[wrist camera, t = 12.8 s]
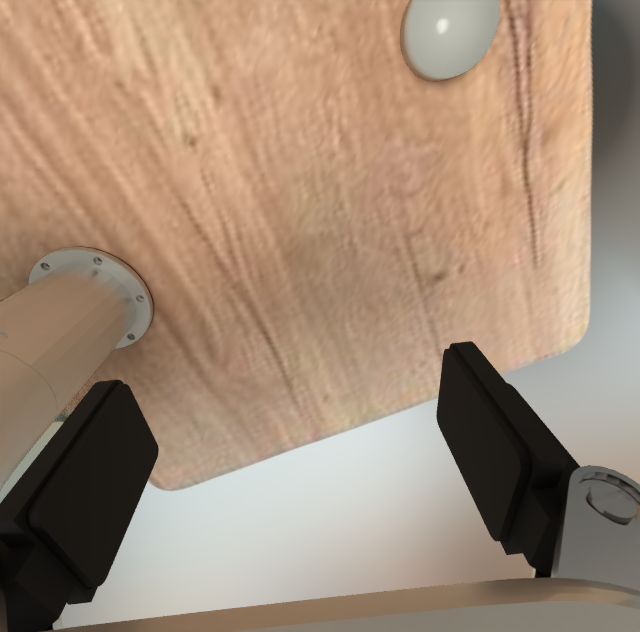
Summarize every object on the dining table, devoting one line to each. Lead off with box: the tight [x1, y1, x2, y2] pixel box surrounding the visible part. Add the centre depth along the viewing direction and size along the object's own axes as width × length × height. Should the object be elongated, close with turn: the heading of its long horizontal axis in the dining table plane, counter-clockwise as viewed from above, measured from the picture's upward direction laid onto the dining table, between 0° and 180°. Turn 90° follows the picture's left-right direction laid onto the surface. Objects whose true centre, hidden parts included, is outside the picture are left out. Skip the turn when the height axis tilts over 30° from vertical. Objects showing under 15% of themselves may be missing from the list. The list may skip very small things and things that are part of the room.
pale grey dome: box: [400, 0, 500, 81], centre depth 27 cm, size 7×7×3 cm
